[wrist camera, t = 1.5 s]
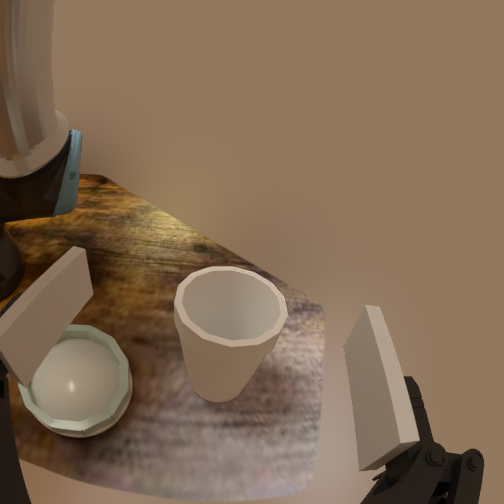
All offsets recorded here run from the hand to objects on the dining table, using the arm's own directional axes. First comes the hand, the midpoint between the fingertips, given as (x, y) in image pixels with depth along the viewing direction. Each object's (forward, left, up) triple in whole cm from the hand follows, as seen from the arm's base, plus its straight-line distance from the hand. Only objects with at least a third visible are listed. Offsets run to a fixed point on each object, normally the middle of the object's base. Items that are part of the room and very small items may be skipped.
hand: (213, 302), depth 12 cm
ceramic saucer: (-7, -13, -20) cm, 25 cm away
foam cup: (-7, +4, -21) cm, 22 cm away
